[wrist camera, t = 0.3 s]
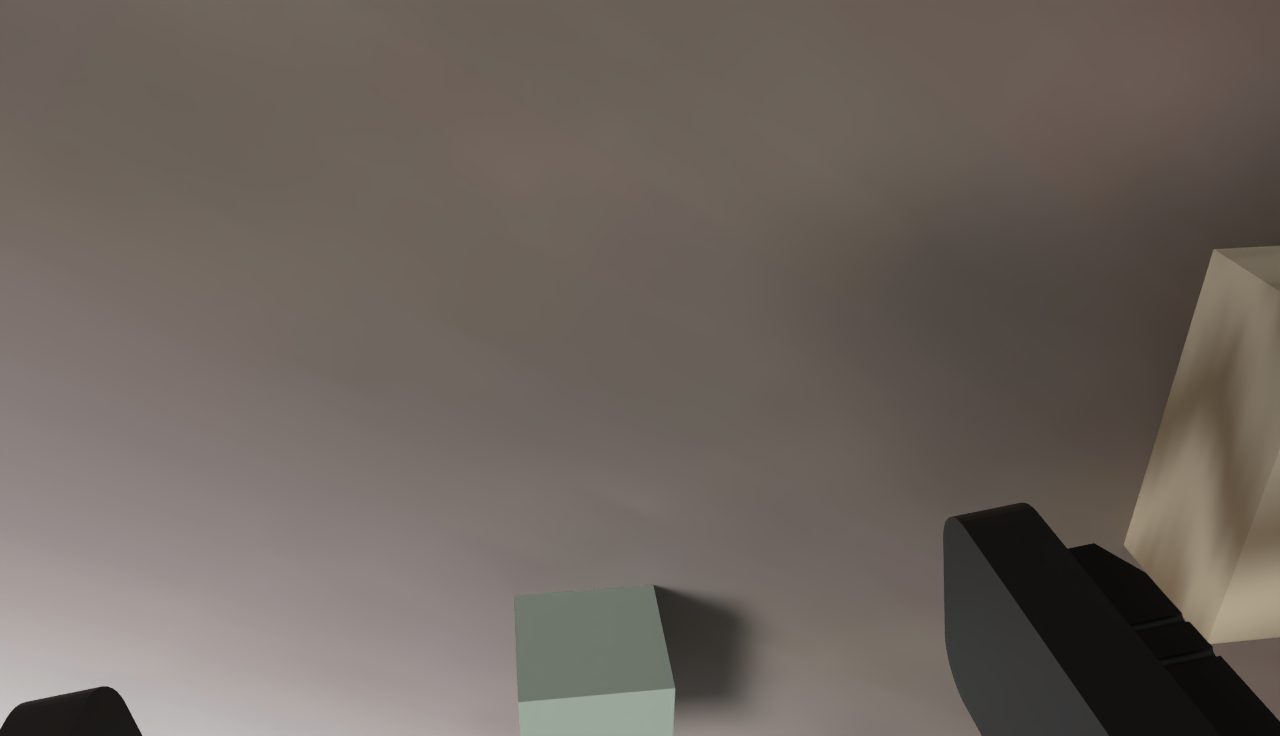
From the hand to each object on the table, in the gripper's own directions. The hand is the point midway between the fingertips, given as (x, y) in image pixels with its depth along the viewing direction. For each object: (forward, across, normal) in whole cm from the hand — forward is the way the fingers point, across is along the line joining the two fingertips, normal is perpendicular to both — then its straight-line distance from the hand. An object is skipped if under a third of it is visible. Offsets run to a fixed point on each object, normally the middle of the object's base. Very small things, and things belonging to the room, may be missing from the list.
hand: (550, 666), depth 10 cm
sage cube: (+19, +1, +16) cm, 25 cm away
